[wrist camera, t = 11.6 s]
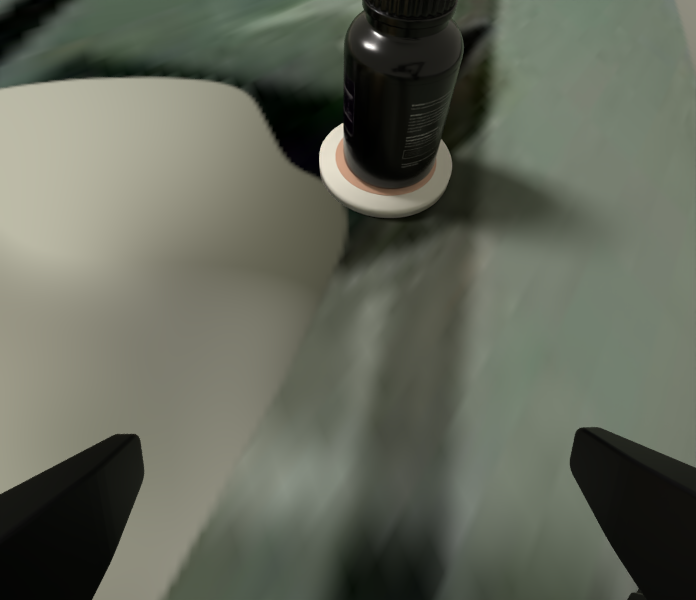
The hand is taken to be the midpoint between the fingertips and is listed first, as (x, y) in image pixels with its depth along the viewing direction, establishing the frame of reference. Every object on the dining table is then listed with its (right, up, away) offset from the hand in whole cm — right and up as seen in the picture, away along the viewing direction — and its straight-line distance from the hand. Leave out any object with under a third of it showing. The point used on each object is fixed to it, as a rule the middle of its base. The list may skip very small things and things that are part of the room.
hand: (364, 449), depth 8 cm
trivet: (+3, +13, +23) cm, 27 cm away
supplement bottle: (+3, +13, +22) cm, 26 cm away
